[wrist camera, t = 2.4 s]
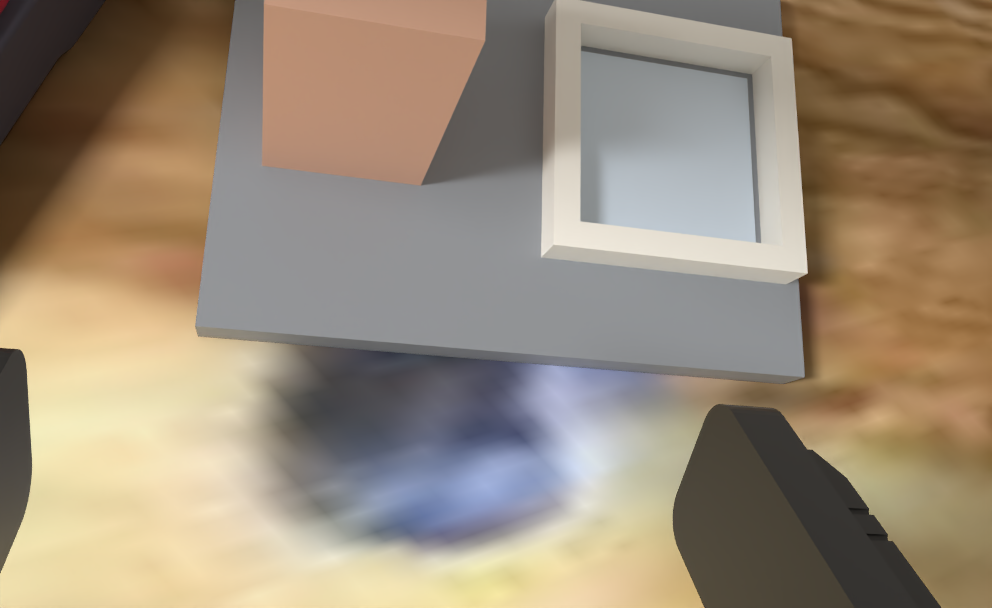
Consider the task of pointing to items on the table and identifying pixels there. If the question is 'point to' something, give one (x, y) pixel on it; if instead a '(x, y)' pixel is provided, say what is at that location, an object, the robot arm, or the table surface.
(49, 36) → the calculator
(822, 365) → the table surface
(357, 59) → the pillar block
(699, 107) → the build board
